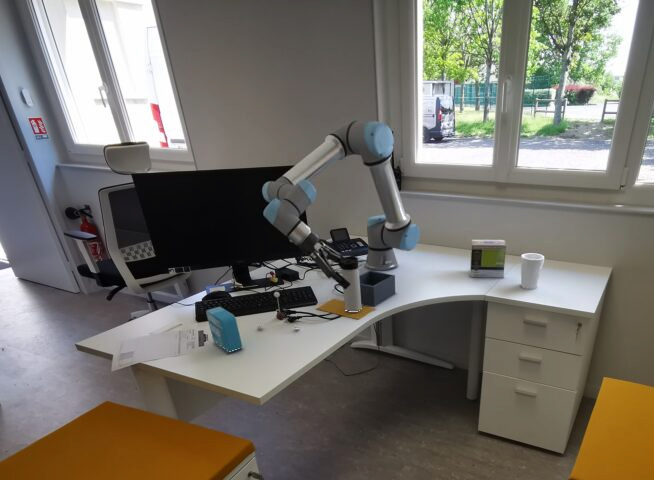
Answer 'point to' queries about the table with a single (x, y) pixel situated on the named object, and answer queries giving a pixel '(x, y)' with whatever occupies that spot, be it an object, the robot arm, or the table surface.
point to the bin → (376, 287)
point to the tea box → (487, 258)
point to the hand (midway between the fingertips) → (350, 280)
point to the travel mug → (353, 291)
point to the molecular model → (278, 315)
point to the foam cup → (530, 269)
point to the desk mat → (343, 309)
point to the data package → (224, 329)
